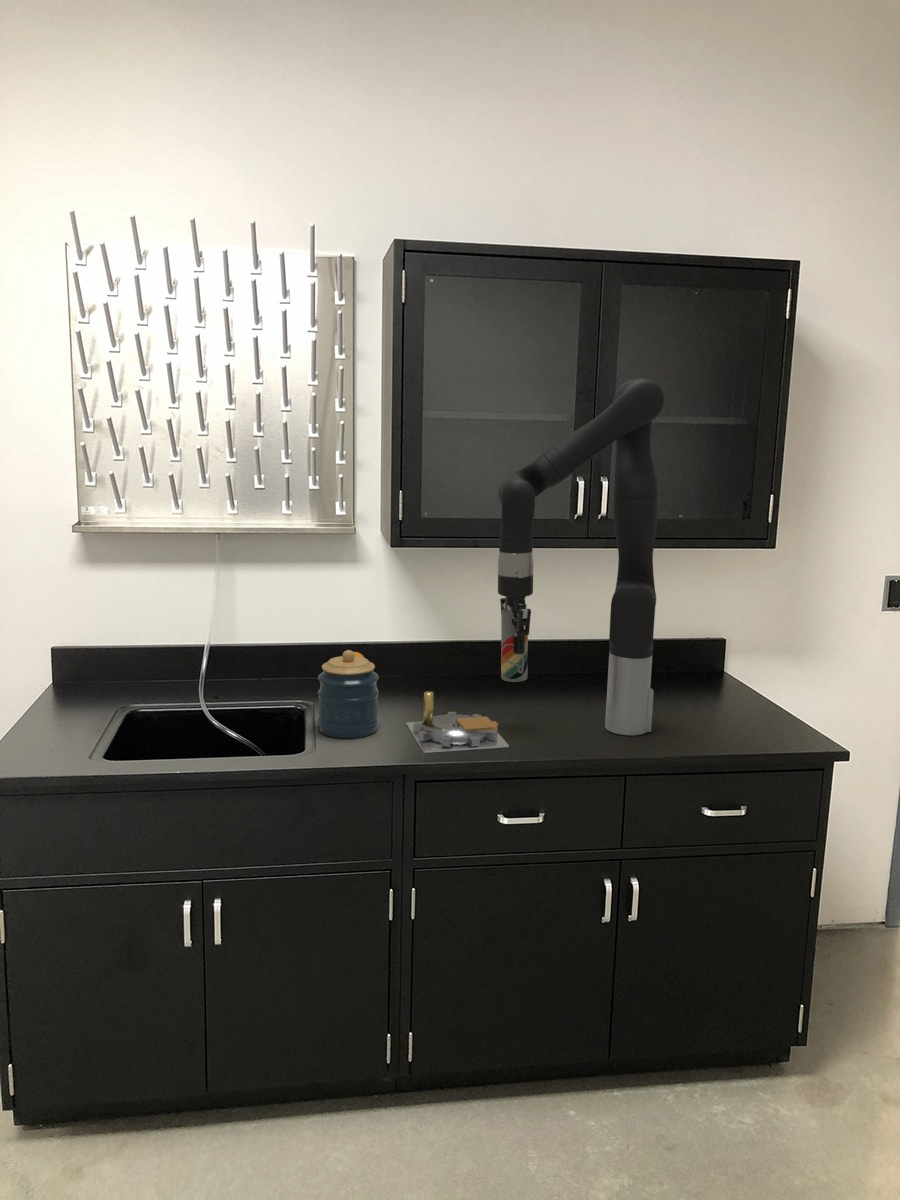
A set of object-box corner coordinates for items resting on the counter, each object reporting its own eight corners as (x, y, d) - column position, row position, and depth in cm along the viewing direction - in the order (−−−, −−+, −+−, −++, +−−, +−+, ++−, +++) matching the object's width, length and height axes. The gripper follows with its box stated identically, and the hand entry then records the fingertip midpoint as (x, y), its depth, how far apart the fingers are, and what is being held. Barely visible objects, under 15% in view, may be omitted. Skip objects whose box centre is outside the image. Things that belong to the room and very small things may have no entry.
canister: (310, 737, 198) (310, 656, 194) (327, 717, 210) (326, 641, 207) (371, 741, 196) (371, 659, 192) (384, 721, 208) (384, 644, 205)
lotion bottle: (511, 683, 199) (512, 590, 196) (495, 678, 204) (496, 587, 200) (532, 679, 202) (533, 588, 199) (516, 674, 207) (517, 584, 204)
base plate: (484, 719, 211) (484, 717, 211) (508, 747, 194) (508, 745, 194) (406, 724, 207) (406, 722, 207) (423, 752, 190) (423, 751, 190)
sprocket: (418, 716, 210) (418, 680, 208) (498, 720, 209) (499, 683, 207) (408, 745, 192) (409, 705, 190) (496, 749, 191) (497, 709, 189)
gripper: (488, 568, 205) (488, 643, 208) (509, 578, 191) (508, 659, 194) (521, 566, 206) (520, 641, 210) (543, 577, 193) (542, 657, 196)
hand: (514, 649), depth 202 cm, fingers closed on lotion bottle, 5 cm apart
